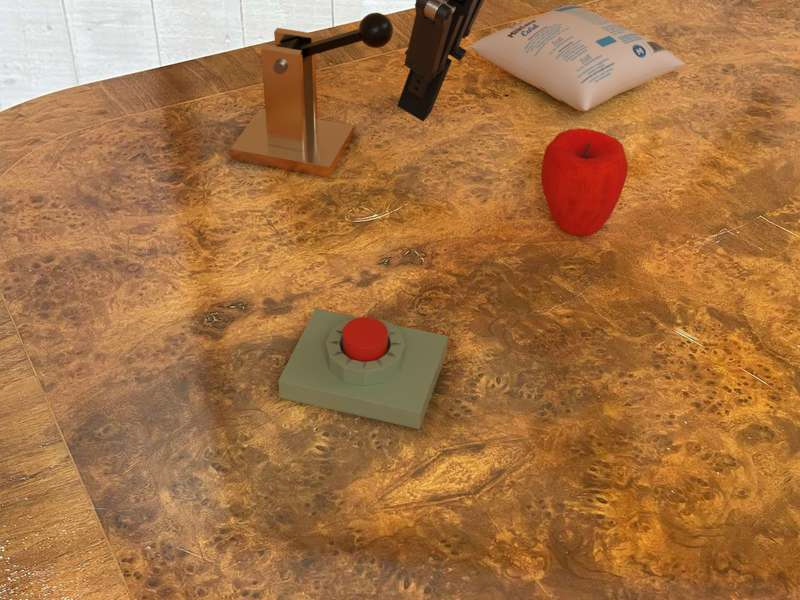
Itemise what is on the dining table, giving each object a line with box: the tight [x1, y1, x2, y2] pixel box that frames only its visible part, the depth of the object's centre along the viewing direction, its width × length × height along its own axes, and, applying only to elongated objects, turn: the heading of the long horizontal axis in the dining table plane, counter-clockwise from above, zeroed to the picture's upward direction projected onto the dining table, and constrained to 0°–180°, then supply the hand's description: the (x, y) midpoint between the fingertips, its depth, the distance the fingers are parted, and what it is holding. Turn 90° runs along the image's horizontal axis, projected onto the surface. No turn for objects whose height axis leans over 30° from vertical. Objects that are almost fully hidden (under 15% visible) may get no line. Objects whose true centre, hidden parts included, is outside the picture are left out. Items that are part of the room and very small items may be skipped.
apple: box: [540, 128, 629, 237], centre depth 111 cm, size 9×9×11 cm
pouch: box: [468, 4, 686, 112], centre depth 135 cm, size 8×19×20 cm
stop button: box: [343, 316, 388, 362], centre depth 95 cm, size 4×4×2 cm
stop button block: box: [277, 307, 449, 430], centre depth 96 cm, size 13×10×4 cm
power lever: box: [276, 12, 394, 63], centre depth 115 cm, size 14×4×4 cm, turn 74°
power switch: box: [230, 27, 355, 178], centre depth 121 cm, size 12×9×14 cm
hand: (414, 108), depth 93 cm, fingers closed
